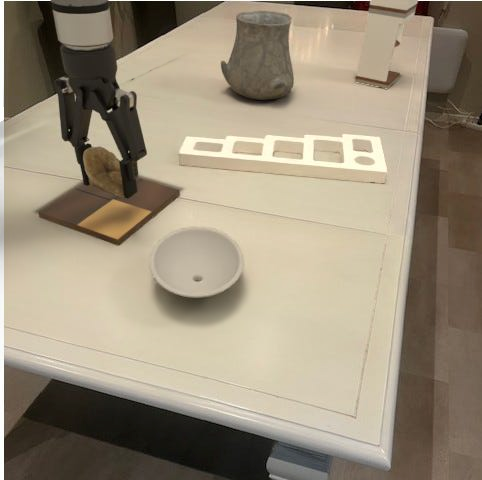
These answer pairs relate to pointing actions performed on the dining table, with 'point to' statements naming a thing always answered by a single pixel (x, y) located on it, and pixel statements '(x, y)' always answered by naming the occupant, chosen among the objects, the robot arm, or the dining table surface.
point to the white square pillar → (382, 40)
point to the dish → (196, 261)
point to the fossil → (103, 170)
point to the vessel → (260, 56)
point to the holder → (350, 168)
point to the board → (109, 210)
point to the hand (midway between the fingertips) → (110, 188)
